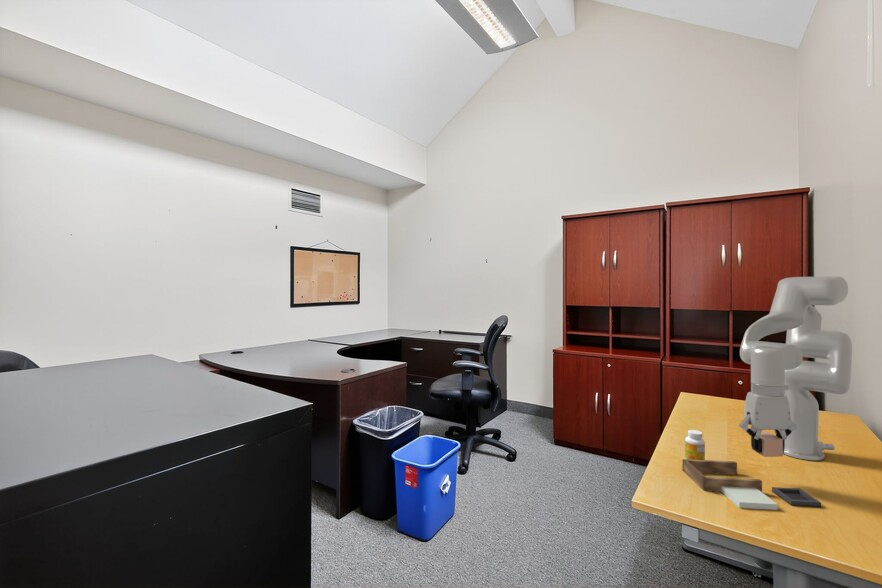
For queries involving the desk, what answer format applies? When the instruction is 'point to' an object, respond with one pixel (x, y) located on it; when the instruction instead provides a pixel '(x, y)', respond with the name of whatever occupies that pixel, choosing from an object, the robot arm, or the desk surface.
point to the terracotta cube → (771, 445)
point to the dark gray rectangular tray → (796, 497)
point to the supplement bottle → (694, 446)
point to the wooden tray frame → (714, 483)
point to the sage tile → (748, 498)
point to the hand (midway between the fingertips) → (767, 450)
